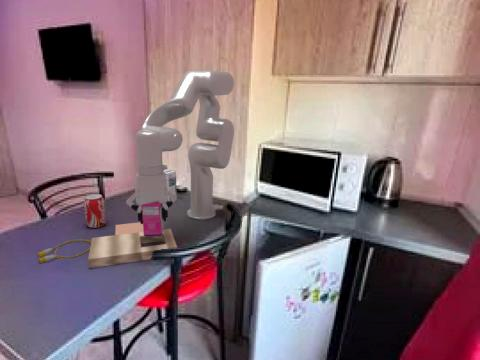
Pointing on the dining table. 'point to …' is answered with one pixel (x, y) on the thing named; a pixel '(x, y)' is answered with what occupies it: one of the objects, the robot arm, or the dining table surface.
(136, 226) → the mat
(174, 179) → the syrup box
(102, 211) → the soda can
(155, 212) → the supplement box
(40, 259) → the extension cord
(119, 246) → the wooden cutout board
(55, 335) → the dining table surface
